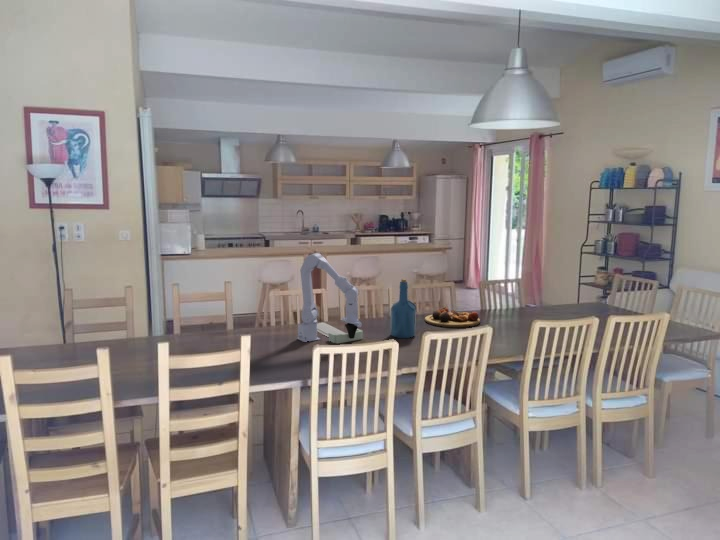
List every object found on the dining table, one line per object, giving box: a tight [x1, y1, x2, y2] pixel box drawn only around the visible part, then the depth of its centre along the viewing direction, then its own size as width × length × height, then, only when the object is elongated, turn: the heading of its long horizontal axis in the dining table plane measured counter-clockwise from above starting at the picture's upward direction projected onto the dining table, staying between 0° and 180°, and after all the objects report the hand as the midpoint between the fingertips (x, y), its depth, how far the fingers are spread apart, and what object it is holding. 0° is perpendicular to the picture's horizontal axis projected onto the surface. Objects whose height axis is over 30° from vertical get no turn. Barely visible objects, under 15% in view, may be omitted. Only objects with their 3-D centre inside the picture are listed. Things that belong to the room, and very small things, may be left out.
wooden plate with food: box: [424, 306, 481, 328], centre depth 313 cm, size 32×32×8 cm
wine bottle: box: [389, 278, 417, 339], centre depth 279 cm, size 14×13×30 cm
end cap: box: [328, 328, 364, 344], centre depth 273 cm, size 17×7×4 cm, turn 124°
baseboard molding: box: [317, 321, 346, 338], centre depth 290 cm, size 31×3×12 cm
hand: (351, 338), depth 269 cm, fingers closed
